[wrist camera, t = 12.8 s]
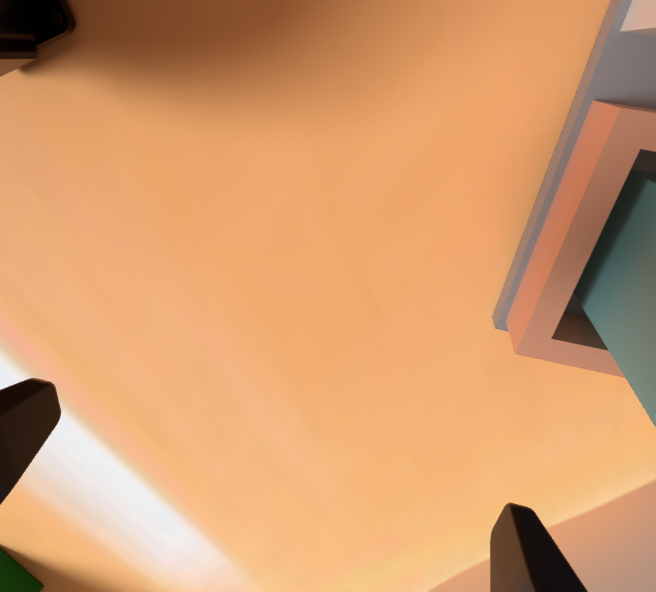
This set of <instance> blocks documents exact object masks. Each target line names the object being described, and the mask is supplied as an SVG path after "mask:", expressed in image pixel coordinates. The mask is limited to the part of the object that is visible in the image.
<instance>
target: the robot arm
mask: <svg viewBox="0 0 656 592" xmlns="http://www.w3.org/2000/svg"><path fill="white" fill-rule="evenodd" d="M58 14H60V15H61V17H62V20H63V21H62V25H61V24H60V23H59V20H58ZM74 28H75V19H74V16H73V14H72V12H71V9H70V7H69V5H68V3H67V1H66V0H0V76H2V75H5V74H7V73H9V72H11V71H13V70H15V69H17V68H20V67H22V66H24V65H26V64H28V63H30V62H32V61H35V60H37V57H38V55H39V51H38V50H37V49H39V48H41V47H43V46H45V45H47V44H49V43H51V42H53V41H55V40H57V39H60V38H62V37H64V36H66V35H68V34H70V33H71V32H72V31H73V30H74ZM60 416H61V409H60V404H59V400H58V396H57V391H56V388H55V385H54V384H53V383H51V382H49V381H45V380H41V379H37V378H31V379H28V380H25V381H22V382H20V383H17V384H14V385H12V386H9V387H7V388H4V389H1V390H0V504H1V503H2V502H3V501H4V499H5V498H6V497H7V496H8V494H9V493H10V492H11V490H12V489H13V488H14V486H15V485H16V483H17V482H18V481H19V479H20V478H21V476H22V475H23V473H24V472H25V471H26V469H27V468H28V466H29V465H30V463H31V462H32V460H33V459H34V457H35V456H36V454H37V453H38V451H39V450H40V449H41V447H42V446H43V444H44V443H45V441H46V440H47V438H48V437H49V435H50V434H51V432H52V431H53V430H54V428H55V427H56V425H57V423H58V422H59V419H60ZM490 561H491V562H490V569H491V570H490V571H491V572H490V573H491V574H490V575H491V576H490V581H491V582H490V588H491V590H490V592H588V591H587V590H586V588H585V587H584V585H583V584H582V582H581V581H580V579H579V578H578V577H577V575H576V573H575V572H574V570H573V569H572V567H571V566H570V564H569V563H568V561H567V560H566V558H565V557H564V555H563V554H562V552H561V551H560V549H559V548H558V546H557V545H556V543H555V542H554V540H553V539H552V537H551V536H550V534H549V533H548V531H547V530H546V528H545V527H544V525H543V524H542V522H541V521H540V519H539V518H538V516H537V515H536V513H535V512H534V511H533V510H532V509H531V508H529V507H526V506H522V505H518V504H514V503H508V504H506V505H505V507H504V509H503V510H502V512H501V514H500V516H499V518H498V520H497V522H496V523H495V525H494V527H493V530H492V533H491V540H490Z"/></svg>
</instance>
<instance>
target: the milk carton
mask: <svg viewBox="0 0 656 592" xmlns="http://www.w3.org/2000/svg"><path fill="white" fill-rule="evenodd" d="M43 587H44V586H43V585H42V584H40V583H39V582H38V581H37V580H36V579H35V578H34V577H32V576H31V575H30V574H29V573H28V572H27V571H26V570H24V569H23V568H22V567H21V566H20V565H19V564H17V563H16V562H15V561H14V560H13V559H12V558H11V557H9V556H8V555H7V554H6V553H5V552H4V551H3V550H1V549H0V592H40V591H41V590H42V588H43Z"/></svg>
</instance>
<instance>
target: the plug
mask: <svg viewBox="0 0 656 592" xmlns="http://www.w3.org/2000/svg"><path fill="white" fill-rule="evenodd" d="M573 293H574V294H575V296H576V298H577V299H578V301H579V303H580V304H581V306H582V307H583V309H584V311H585V312H586V314H587V316H588V317H589V319H590V321H591V322H592V324H593V325H594V327H595V329H596V330H597V332H598V334H599V335H600V337H601V339H602V340H603V342H604V343H605V345H606V347H607V348H608V350H609V352H610V353H611V355H612V357H613V358H614V360H615V361H616V363H617V365H618V366H619V368H620V370H621V371H622V373H623V374H624V376H625V378H626V379H627V381H628V383H629V384H630V386H631V388H632V389H633V391H634V392H635V394H636V396H637V397H638V399H639V401H640V402H641V404H642V406H643V407H644V409H645V410H646V412H647V414H648V415H649V417H650V419H651V420H652V422H653V424H654V425H655V427H656V174H655V173H649V172H644V171H638V170H632V169H631V170H630V172H629V174H628V176H627V178H626V180H625V182H624V185H623V187H622V189H621V191H620V193H619V195H618V197H617V200H616V202H615V204H614V206H613V208H612V210H611V212H610V214H609V217H608V219H607V221H606V223H605V225H604V227H603V229H602V232H601V234H600V236H599V238H598V240H597V242H596V244H595V246H594V249H593V251H592V253H591V255H590V257H589V259H588V261H587V263H586V266H585V268H584V270H583V272H582V274H581V276H580V278H579V281H578V283H577V285H576V287H575V289H574V291H573Z"/></svg>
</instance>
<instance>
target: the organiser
mask: <svg viewBox="0 0 656 592" xmlns="http://www.w3.org/2000/svg"><path fill="white" fill-rule="evenodd" d="M631 169H632V170H638V171H644V172H649V173H655V174H656V0H611V2H610V5H609V7H608V10H607V13H606V15H605V18H604V21H603V23H602V26H601V29H600V31H599V34H598V37H597V39H596V42H595V45H594V47H593V50H592V53H591V55H590V58H589V61H588V63H587V66H586V69H585V71H584V74H583V77H582V79H581V82H580V85H579V87H578V90H577V93H576V95H575V98H574V101H573V103H572V106H571V109H570V111H569V114H568V117H567V119H566V122H565V125H564V127H563V130H562V132H561V135H560V138H559V140H558V143H557V146H556V148H555V151H554V154H553V156H552V159H551V162H550V164H549V167H548V170H547V172H546V175H545V178H544V180H543V183H542V186H541V188H540V191H539V194H538V196H537V199H536V202H535V204H534V207H533V210H532V212H531V215H530V218H529V220H528V223H527V226H526V228H525V231H524V234H523V236H522V239H521V242H520V244H519V247H518V250H517V252H516V255H515V258H514V260H513V263H512V266H511V268H510V271H509V274H508V276H507V279H506V282H505V284H504V287H503V290H502V292H501V295H500V298H499V300H498V303H497V306H496V308H495V311H494V314H493V316H492V318H493V322H494V326H495V329H500V330H504V331H509V334H510V338H511V341H512V344H513V348H514V351H515V354H518V355H523V356H528V357H532V358H537V359H541V360H546V361H551V362H555V363H560V364H565V365H569V366H574V367H578V368H583V369H588V370H592V371H597V372H602V373H606V374H611V375H615V376H620V377H625V376H624V374H623V373H622V371H621V370H620V368H619V366H618V365H617V363H616V361H615V360H614V358H613V357H612V355H611V353H610V352H609V350H608V348H607V347H606V345H605V343H604V342H603V340H602V339H601V337H600V335H599V334H598V332H597V330H596V329H595V327H594V325H593V324H592V322H591V321H590V319H589V317H588V316H587V314H586V312H585V311H584V309H583V307H582V306H581V304H580V303H579V301H578V299H577V298H576V296H575V294H574V293H573V291H574V289H575V287H576V285H577V283H578V281H579V278H580V276H581V274H582V272H583V270H584V268H585V266H586V263H587V261H588V259H589V257H590V255H591V253H592V251H593V249H594V246H595V244H596V242H597V240H598V238H599V236H600V234H601V232H602V229H603V227H604V225H605V223H606V221H607V219H608V217H609V214H610V212H611V210H612V208H613V206H614V204H615V202H616V200H617V197H618V195H619V193H620V191H621V189H622V187H623V185H624V182H625V180H626V178H627V176H628V174H629V172H630V170H631Z"/></svg>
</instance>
